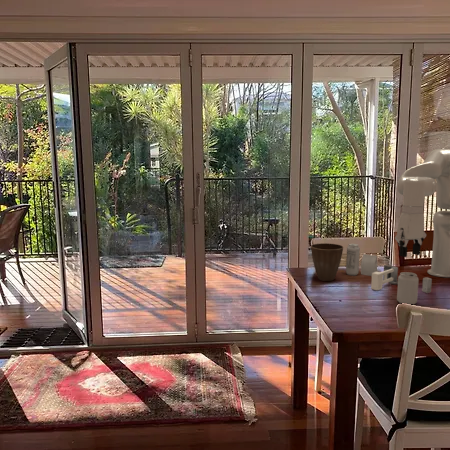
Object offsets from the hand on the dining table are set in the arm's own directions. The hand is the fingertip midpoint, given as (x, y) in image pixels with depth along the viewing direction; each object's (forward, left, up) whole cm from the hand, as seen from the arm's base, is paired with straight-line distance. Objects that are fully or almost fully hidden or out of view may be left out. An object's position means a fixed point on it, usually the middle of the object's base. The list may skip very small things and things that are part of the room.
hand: (409, 255), depth 169 cm
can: (0, 0, -20) cm, 20 cm away
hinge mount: (-16, -23, -20) cm, 34 cm away
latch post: (-19, -7, -20) cm, 28 cm away
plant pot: (+8, -41, -20) cm, 46 cm away
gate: (-9, -20, -19) cm, 29 cm away
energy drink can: (-9, -42, -20) cm, 47 cm away
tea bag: (-16, -38, -20) cm, 46 cm away
